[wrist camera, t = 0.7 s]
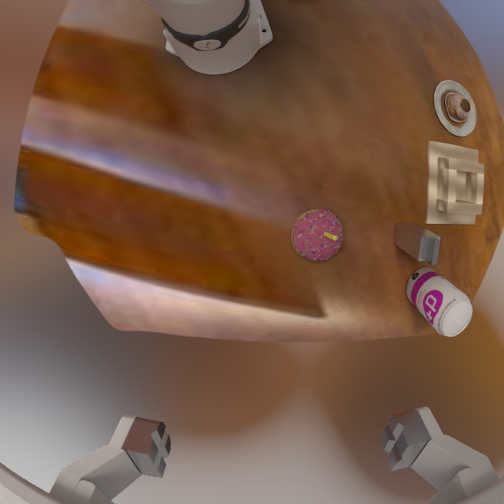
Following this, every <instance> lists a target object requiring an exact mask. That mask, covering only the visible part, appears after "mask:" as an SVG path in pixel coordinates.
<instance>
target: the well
mask: <svg viewBox="0 0 504 504" xmlns="http://www.w3.org/2000/svg"><path fill="white" fill-rule="evenodd" d="M483 189H484V164H480V163H478V150H475V149H471V148H466V147H461V146H456V145H451V144H446V143H440V142H434V141H428V189H427V208H426V221H425V223H426V224H473V225H475V219H476V214H482V204H483Z"/></svg>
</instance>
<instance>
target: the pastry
mask: <svg viewBox="0 0 504 504" xmlns="http://www.w3.org/2000/svg"><path fill="white" fill-rule="evenodd" d="M447 90H452V91H455V92H457V93H458V94H456V93H448V94H447V95H446V98H445V104H446V109H447V112H448V115H449V117H450V119H452V120H453V121H455V122H464V121H465V120H466V118H467V117H468V118H467V121H466V123H465V124H464V125H463V126H461V127H456V126H453V125H452V124H450V123H449V122H448V121H447V119H446V118H445V116H444V114H443V112H442V109H441V96H442V94H443V93H444V92H445V91H447ZM447 97H448V98H447ZM434 105H435V110H436V113H437V115H438V118H439V119H440V121H441V123H442V124H443V126H444V127H445V128H446V129H447V130H448V131H449V132H450V133H452V134H453V135H456V136H461V137H464V136H467V135H469V134H470V133H471V132H472V131H473V130H474V127H475V123H476V109H475V105H474V102H473V100H472V98H471V97H470V95H469V93H468V92H467V91H466V90H465V89H464V87H463V86H461V85H460V84H459V83H457V82H455V81H450V80H446V81H442V82H441V83H439V84H438V86H437V87H436V90H435V93H434Z"/></svg>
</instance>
